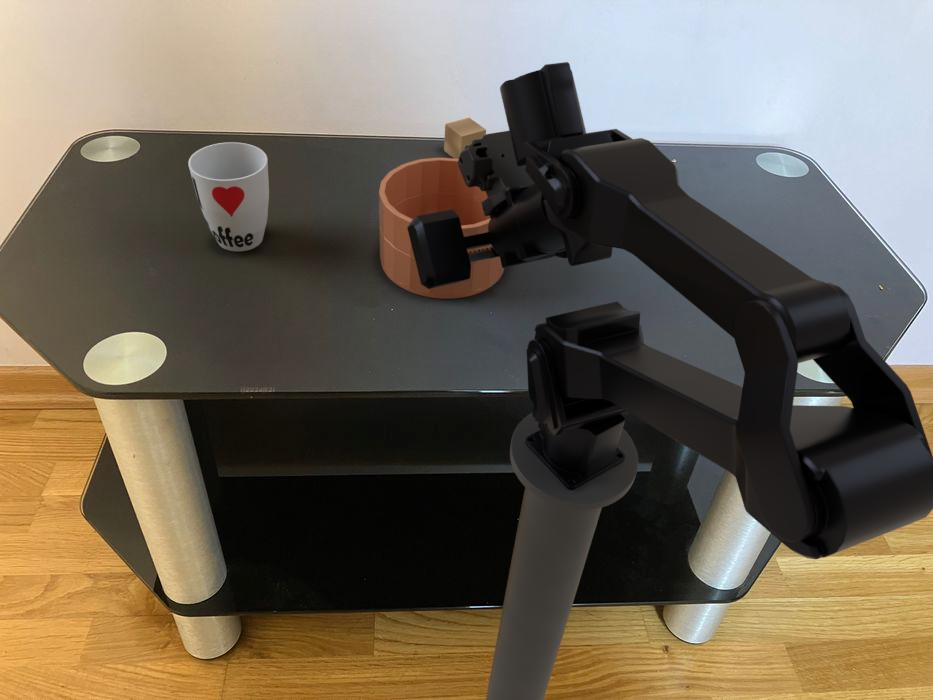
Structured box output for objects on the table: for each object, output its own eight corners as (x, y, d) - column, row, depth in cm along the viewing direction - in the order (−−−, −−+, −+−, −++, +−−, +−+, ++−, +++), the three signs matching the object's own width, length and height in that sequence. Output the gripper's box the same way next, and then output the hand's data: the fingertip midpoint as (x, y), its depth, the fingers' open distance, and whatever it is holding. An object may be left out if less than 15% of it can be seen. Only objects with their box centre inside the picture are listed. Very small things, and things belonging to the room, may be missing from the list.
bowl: (530, 273, 88) (540, 205, 82) (424, 314, 82) (426, 244, 76) (459, 212, 97) (463, 146, 91) (357, 246, 90) (355, 177, 84)
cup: (189, 247, 88) (172, 168, 81) (231, 212, 94) (218, 135, 87) (251, 267, 86) (238, 188, 79) (290, 229, 92) (281, 153, 85)
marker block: (484, 156, 107) (486, 129, 105) (460, 163, 105) (461, 136, 103) (467, 144, 110) (469, 117, 107) (443, 150, 108) (445, 123, 105)
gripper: (622, 104, 66) (544, 158, 81) (417, 135, 60) (373, 187, 75) (653, 232, 67) (570, 262, 81) (452, 276, 60) (401, 300, 75)
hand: (481, 250), depth 78 cm, fingers open, 9 cm apart
